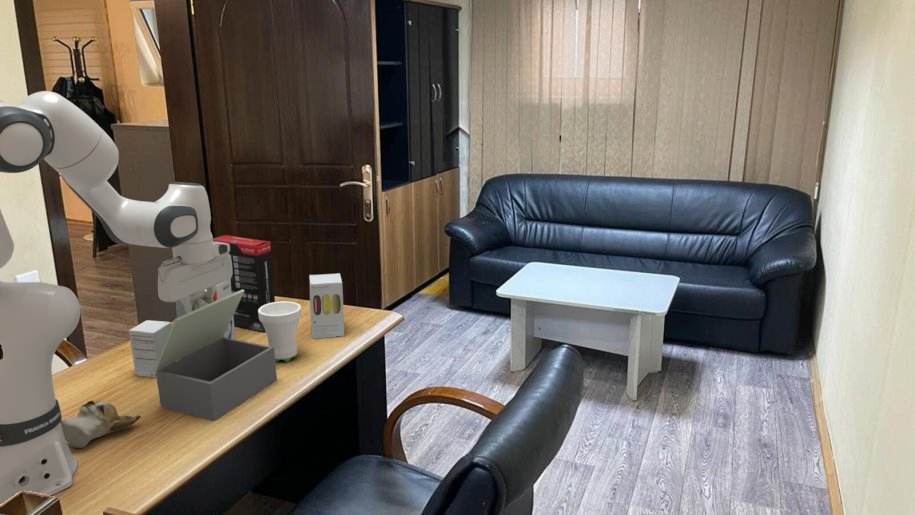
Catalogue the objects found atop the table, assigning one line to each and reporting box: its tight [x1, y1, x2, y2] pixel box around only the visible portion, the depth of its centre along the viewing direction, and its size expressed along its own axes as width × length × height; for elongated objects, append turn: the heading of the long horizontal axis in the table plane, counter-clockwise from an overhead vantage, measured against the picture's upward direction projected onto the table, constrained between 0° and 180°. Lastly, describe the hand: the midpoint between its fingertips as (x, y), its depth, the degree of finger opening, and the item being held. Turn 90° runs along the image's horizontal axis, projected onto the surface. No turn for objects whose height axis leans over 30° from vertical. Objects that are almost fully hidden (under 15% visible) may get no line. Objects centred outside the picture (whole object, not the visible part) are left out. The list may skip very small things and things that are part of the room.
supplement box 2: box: [308, 272, 345, 340], centre depth 198 cm, size 10×9×17 cm
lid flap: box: [154, 289, 244, 371], centre depth 161 cm, size 22×17×5 cm
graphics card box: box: [213, 234, 276, 333], centre depth 202 cm, size 17×7×27 cm, turn 65°
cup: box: [258, 300, 302, 363], centre depth 181 cm, size 11×11×14 cm
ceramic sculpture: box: [61, 400, 142, 449], centre depth 144 cm, size 11×9×15 cm
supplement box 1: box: [128, 319, 176, 379], centre depth 173 cm, size 7×7×13 cm
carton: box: [156, 337, 278, 422], centre depth 162 cm, size 22×16×9 cm
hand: (199, 308), depth 159 cm, fingers closed on lid flap, 4 cm apart
